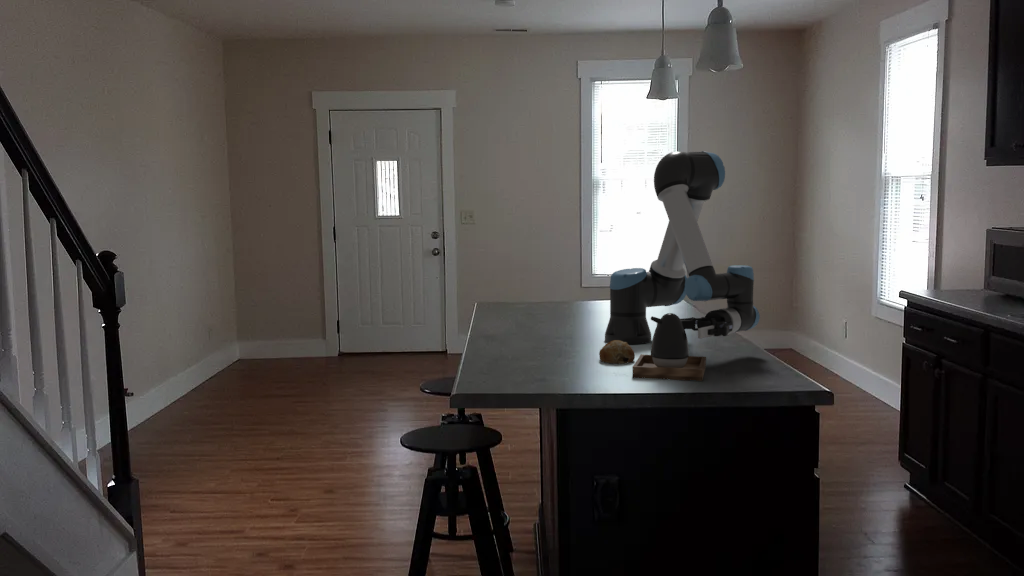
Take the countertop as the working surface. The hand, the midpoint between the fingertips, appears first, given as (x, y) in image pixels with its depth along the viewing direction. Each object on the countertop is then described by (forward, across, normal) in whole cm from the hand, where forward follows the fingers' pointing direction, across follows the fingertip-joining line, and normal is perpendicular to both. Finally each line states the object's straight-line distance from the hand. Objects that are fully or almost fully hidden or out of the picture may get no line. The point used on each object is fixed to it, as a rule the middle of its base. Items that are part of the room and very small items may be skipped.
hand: (678, 330), depth 240 cm
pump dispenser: (+4, 0, -10) cm, 11 cm away
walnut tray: (+3, 0, -11) cm, 12 cm away
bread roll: (0, +22, -11) cm, 24 cm away
